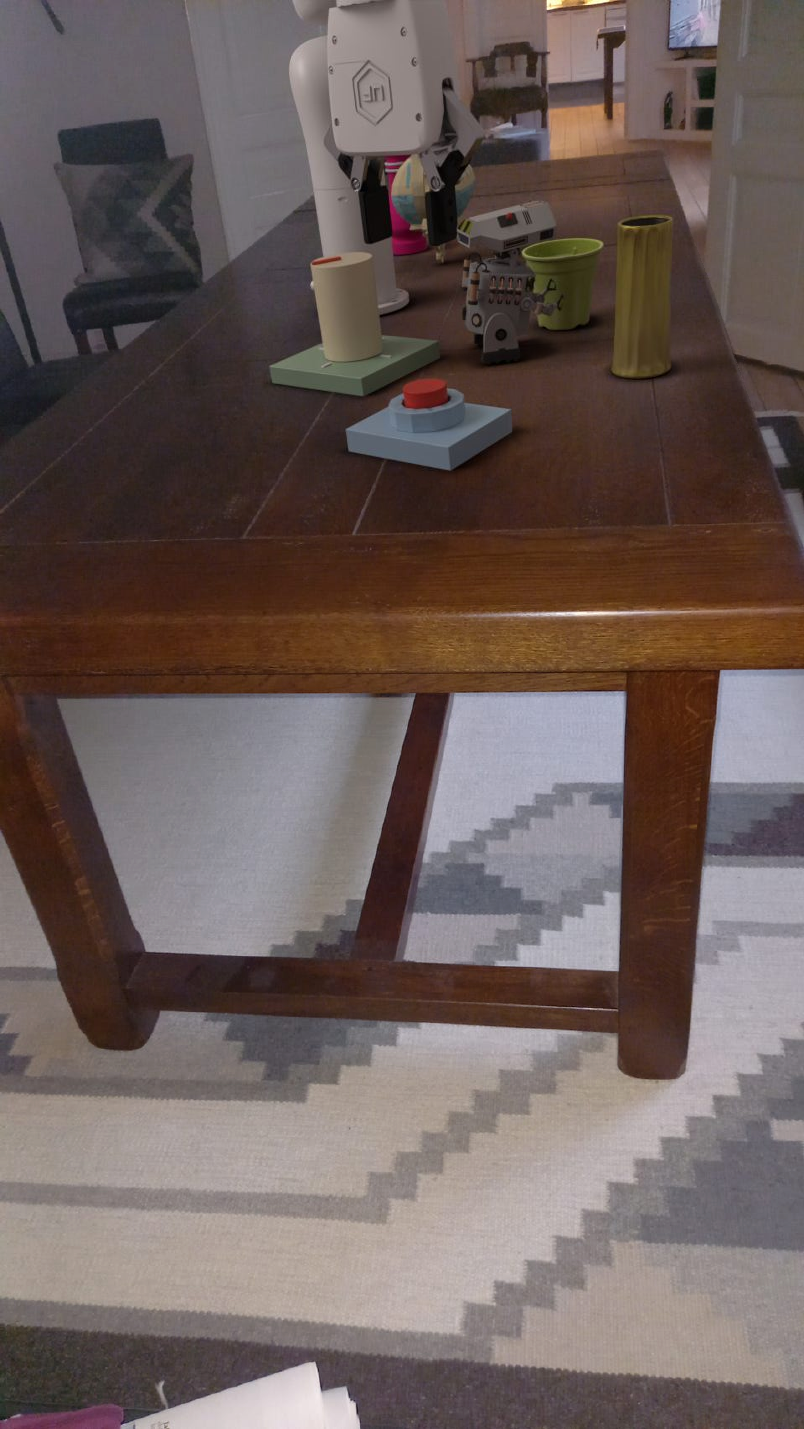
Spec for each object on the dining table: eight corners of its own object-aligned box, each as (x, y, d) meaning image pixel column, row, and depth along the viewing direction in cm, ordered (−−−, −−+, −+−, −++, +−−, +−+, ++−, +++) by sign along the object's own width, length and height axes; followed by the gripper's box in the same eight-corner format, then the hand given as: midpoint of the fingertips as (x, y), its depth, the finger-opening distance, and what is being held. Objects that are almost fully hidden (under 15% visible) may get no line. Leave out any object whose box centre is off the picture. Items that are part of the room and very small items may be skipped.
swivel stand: (272, 383, 114) (268, 364, 112) (350, 348, 122) (347, 330, 121) (363, 397, 106) (361, 377, 105) (440, 358, 114) (438, 339, 113)
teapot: (462, 280, 145) (444, 34, 127) (387, 284, 148) (359, 45, 130) (490, 244, 163) (477, 25, 145) (423, 249, 166) (403, 35, 148)
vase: (674, 360, 104) (681, 212, 96) (667, 379, 99) (674, 225, 91) (616, 361, 106) (618, 216, 98) (606, 380, 101) (607, 229, 93)
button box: (348, 451, 93) (342, 410, 91) (412, 416, 99) (408, 376, 97) (450, 471, 87) (446, 427, 84) (512, 432, 92) (510, 389, 90)
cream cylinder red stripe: (371, 340, 116) (359, 246, 110) (392, 353, 111) (380, 255, 105) (317, 352, 115) (302, 257, 109) (335, 366, 109) (320, 267, 103)
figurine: (571, 355, 110) (570, 206, 101) (469, 368, 110) (459, 221, 101) (556, 333, 117) (554, 193, 108) (460, 346, 117) (450, 207, 108)
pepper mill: (438, 246, 167) (426, 109, 155) (415, 256, 162) (402, 115, 150) (402, 246, 170) (388, 112, 159) (379, 256, 165) (363, 118, 154)
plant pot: (601, 332, 115) (601, 253, 110) (521, 337, 117) (517, 259, 112) (604, 311, 122) (604, 235, 117) (528, 316, 125) (526, 242, 120)
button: (396, 409, 91) (394, 390, 90) (422, 395, 93) (420, 376, 92) (430, 414, 88) (429, 394, 87) (456, 399, 91) (455, 380, 90)
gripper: (266, -6, 75) (306, 249, 85) (449, -36, 65) (468, 255, 76) (330, -13, 79) (361, 230, 90) (511, -42, 70) (521, 234, 80)
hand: (410, 239), depth 83 cm, fingers open, 6 cm apart
